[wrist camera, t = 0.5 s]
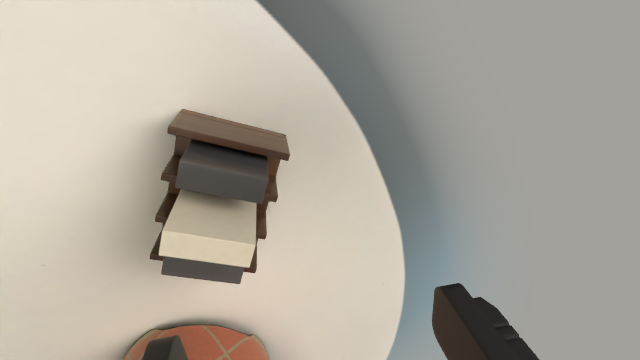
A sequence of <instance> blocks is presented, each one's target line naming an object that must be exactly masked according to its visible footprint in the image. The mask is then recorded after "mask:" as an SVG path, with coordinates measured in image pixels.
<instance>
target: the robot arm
mask: <svg viewBox="0 0 640 360" xmlns="http://www.w3.org/2000/svg"><path fill="white" fill-rule="evenodd" d="M432 326H433V330H434V334H435V337H436V339H437V341H438V343H439V345H440V347H441V348H442V350H443V352H444V354H445V356H446V357H447V359H448V360H539V359H538V358H537V356H536V355H535V354H534V353H533V351H532V350H531V349H530V348H529V347H528V345H527V344H526V343H525V342H524V341H523V339H522V338H520V337H519V334H518V333H517V332H516V331H515V330H514V329H513V327H512V326H510V325H509V323H508V321H507V320H506V319H505V318H504V316H503V315H502V314H501V313H500V311H499V310H498V309H497V308H496V307H494V306H493V305H491V304H490V303H488V302H487V301H486V300H484V299H482V298H481V297H478V298H472V297H471V295H470V294H469V293H468V291H467V290H466V289H465V288H464V286H463V285H461V284H460V283H457V284H451V285H446V286H440V287H437V288H435V291H434V304H433V315H432ZM142 360H189V359H188V357H187V354H186V352H185V349H184V346H183V344H182V341H181V339H180V337H179V336H178V335H175V336H170V337H164V338H159V339H154V340H151V341H150V342H149V343H148V345H147V347H146V350H145V353H144V356H143V358H142Z"/></svg>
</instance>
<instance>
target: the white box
mask: <svg viewBox="0 0 640 360" xmlns="http://www.w3.org/2000/svg"><path fill="white" fill-rule="evenodd" d="M255 246H256V203H253V202H248V201H242V200H237V199H232V198H227V197H221V196H216V195H211V194H206V193H200V192H195V191H190V190H185V189H181V191H180V193H179V195H178V197H177V199H176V202H175V204H174V206H173V208H172V210H171V212H170V215H169V217H168V219H167V221H166V223H165V226H164V228H163V230H162V235H161V242H160V248H159V255H160V256H168V257H175V258H182V259H189V260H197V261H204V262H211V263H218V264H226V265H233V266H240V267H247V268H249V267H250V264H251V260H252V257H253V253H254V250H255Z"/></svg>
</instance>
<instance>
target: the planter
mask: <svg viewBox="0 0 640 360" xmlns="http://www.w3.org/2000/svg"><path fill="white" fill-rule="evenodd" d="M175 335H178V336H179V337H180V339H181V341H182V344H183V346H184V349H185V352H186V354H187V357H188V359H189V360H269V357H268V354H267V352H266V349H265V347H264V345H263V344H262V342H261V341H260V340H259V338H258V337H257V336H255V335H252V336H248V335H245V334H242V333H240V332H237V331H235V330H232V329H228V328H224V327H219V326H211V325H189V326H181V327H176V328H171V329H167V330H158V329H153V330H151V331H149V332H148V333H146V334H145V335H144V336H142V337H141V338H140V339H139V340H138V341H137V342H136V343H135V344H134V345H133V346H132V348H131V349H130V350H129V351H128V353H127V354H126V355H125V357H124V358H123V360H142V358H143V356H144V353H145V350H146V347H147V345H148V343H149V342H150V341H151V340H154V339H159V338H164V337H170V336H175Z"/></svg>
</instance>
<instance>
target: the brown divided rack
mask: <svg viewBox="0 0 640 360" xmlns="http://www.w3.org/2000/svg"><path fill="white" fill-rule="evenodd" d="M168 133H169V134H173V135H177V136H176V142H175V149H174V155H173V156H172V158H171V159H170V161H169V163H168V164H167V166H166V167H165V169H164V171H163V172H162V175H161V180H164V181H169V188H168V193H167V195H166V197H165V199H164V201H163V203H162V205H161V207H160V209H159V211H158V212H157V214H156V217H155V221H156V222H161V223H163V227H162V230H163V228H164V226H165V223H166V221H167V219H168V217H169V215H170V212H171V210H172V208H173V206H174V204H175V202H176V199H177V197H178V195H179V193H180V191H181V189H185V190H190V191H195V192H200V193H206V194H211V195H216V196H221V197H227V198H232V199H237V200H242V201H248V202H253V203H256V246H255V250H254V253H253V257H252V260H251V264H250V267H249V268H247V267H240V266H233V265H226V264H218V263H211V262H204V261H197V260H189V259H182V258H175V257H168V256H160V255H159V248H160V242H161V235H162V230H161V232H160V234H159V236H158V238H157V241H156V243H155V245H154V247H153V249H152V251H151V254H150V259H153V260H161V261H163V266H162V272H161V274H162V275H170V276H178V277H186V278H194V279H203V280H211V281H219V282H227V283H235V284H240V282H241V278H242V275H243V272H250V273H255V272H256V269H257V241H258V238H260V239H265V238H266V235H267V231H266V209H267V205H268V202H269V201H272V202H276V201H277V197H278V194H277V184H276V173H277V170H278V166H279V163H280V159H282V160H286V161H288V160H289V156H290V153H289V149H288V144H287V140H286V135H284V134H280V133H276V132H272V131H268V130H264V129H260V128H256V127H252V126H248V125H244V124H240V123H236V122H232V121H228V120H224V119H220V118H216V117H212V116H208V115H204V114H200V113H196V112H192V111H188V110H184V109H182V111H181V112H180V113H179V114H178V115H177V117H176V118H175V119H174V120H173V121H172V123H171V124H170V125H169V126H168Z"/></svg>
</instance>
